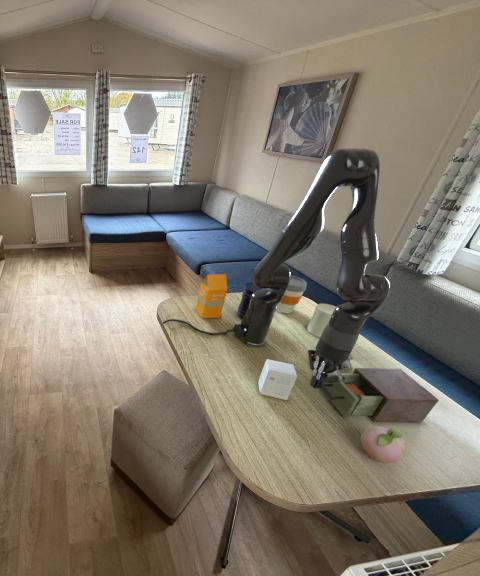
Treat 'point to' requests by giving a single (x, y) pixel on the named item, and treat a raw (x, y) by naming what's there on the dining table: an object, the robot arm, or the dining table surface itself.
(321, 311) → the can
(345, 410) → the drawer
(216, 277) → the orange juice
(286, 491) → the dining table surface
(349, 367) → the packaged food
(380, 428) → the decorative fruit
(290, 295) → the reusable coffee cup
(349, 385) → the block
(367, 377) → the cabinet
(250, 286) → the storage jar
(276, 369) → the small box
